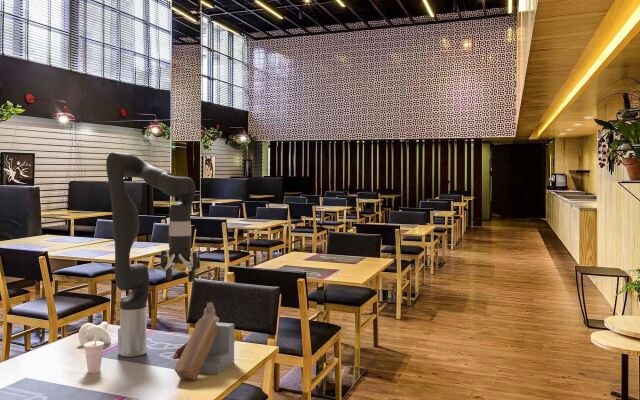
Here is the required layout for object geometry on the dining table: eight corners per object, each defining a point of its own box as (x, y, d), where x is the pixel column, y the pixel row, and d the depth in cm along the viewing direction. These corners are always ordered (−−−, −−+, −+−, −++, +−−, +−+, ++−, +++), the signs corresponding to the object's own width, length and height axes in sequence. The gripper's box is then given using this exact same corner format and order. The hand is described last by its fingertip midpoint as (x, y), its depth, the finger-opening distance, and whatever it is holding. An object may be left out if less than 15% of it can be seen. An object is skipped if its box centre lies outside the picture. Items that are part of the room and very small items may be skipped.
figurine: (208, 351, 195) (210, 307, 188) (190, 344, 198) (191, 300, 191) (221, 339, 203) (223, 296, 196) (203, 332, 206) (205, 290, 199)
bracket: (183, 370, 172) (182, 329, 172) (201, 359, 184) (201, 320, 184) (217, 374, 168) (217, 332, 168) (234, 362, 180) (234, 323, 180)
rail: (180, 379, 164) (174, 369, 161) (205, 328, 179) (199, 318, 175) (195, 380, 162) (189, 371, 159) (219, 329, 177) (214, 319, 174)
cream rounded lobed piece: (119, 344, 202) (119, 321, 202) (95, 352, 192) (95, 329, 191) (99, 340, 207) (99, 318, 207) (74, 348, 196) (74, 325, 196)
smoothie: (108, 370, 172) (108, 329, 172) (94, 376, 166) (94, 334, 166) (93, 368, 174) (93, 327, 174) (79, 374, 168) (79, 332, 168)
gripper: (155, 234, 173) (155, 281, 173) (192, 235, 169) (192, 284, 169) (168, 233, 180) (168, 278, 180) (203, 234, 176) (203, 280, 176)
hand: (180, 280), depth 175 cm, fingers open, 8 cm apart
